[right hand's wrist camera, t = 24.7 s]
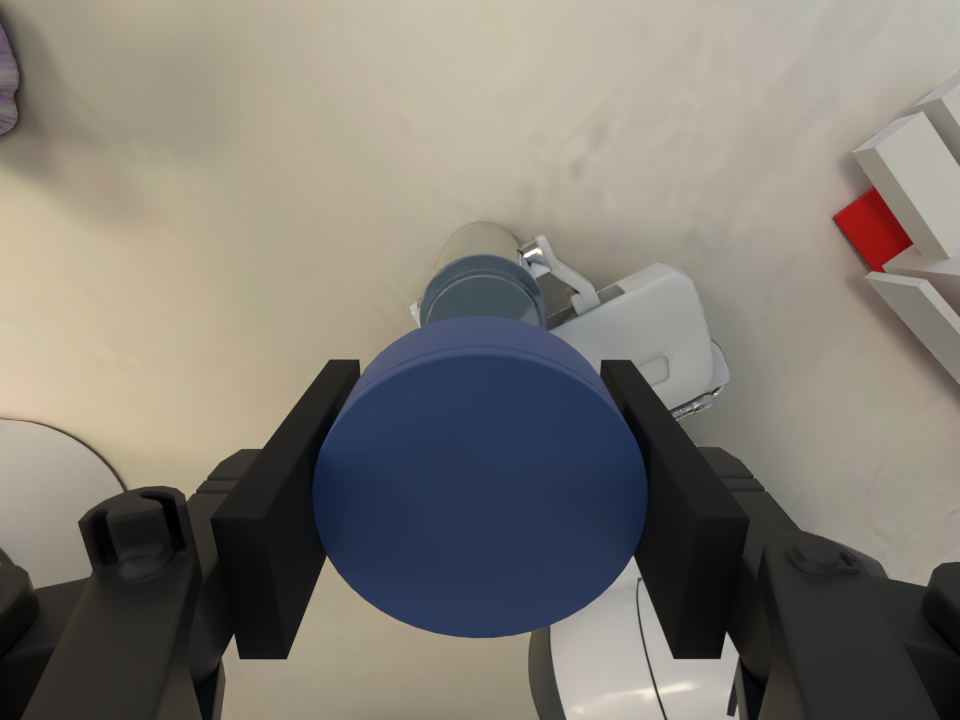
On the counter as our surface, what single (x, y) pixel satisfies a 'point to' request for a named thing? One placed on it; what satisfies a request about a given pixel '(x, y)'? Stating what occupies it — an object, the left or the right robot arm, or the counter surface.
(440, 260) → the grey tall cylinder
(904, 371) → the counter surface
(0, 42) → the figurine
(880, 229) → the toy
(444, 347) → the lid
